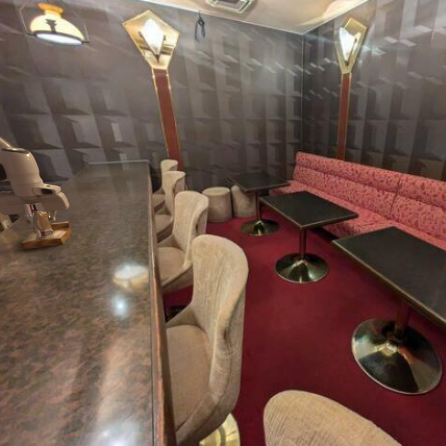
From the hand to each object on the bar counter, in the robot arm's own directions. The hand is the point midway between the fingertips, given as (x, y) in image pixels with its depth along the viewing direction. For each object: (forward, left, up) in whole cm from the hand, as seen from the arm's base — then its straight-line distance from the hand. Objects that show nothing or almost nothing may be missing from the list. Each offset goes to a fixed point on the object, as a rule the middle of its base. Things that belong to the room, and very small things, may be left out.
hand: (41, 221), depth 104 cm
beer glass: (0, 0, -6) cm, 6 cm away
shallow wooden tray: (0, +1, -9) cm, 10 cm away
